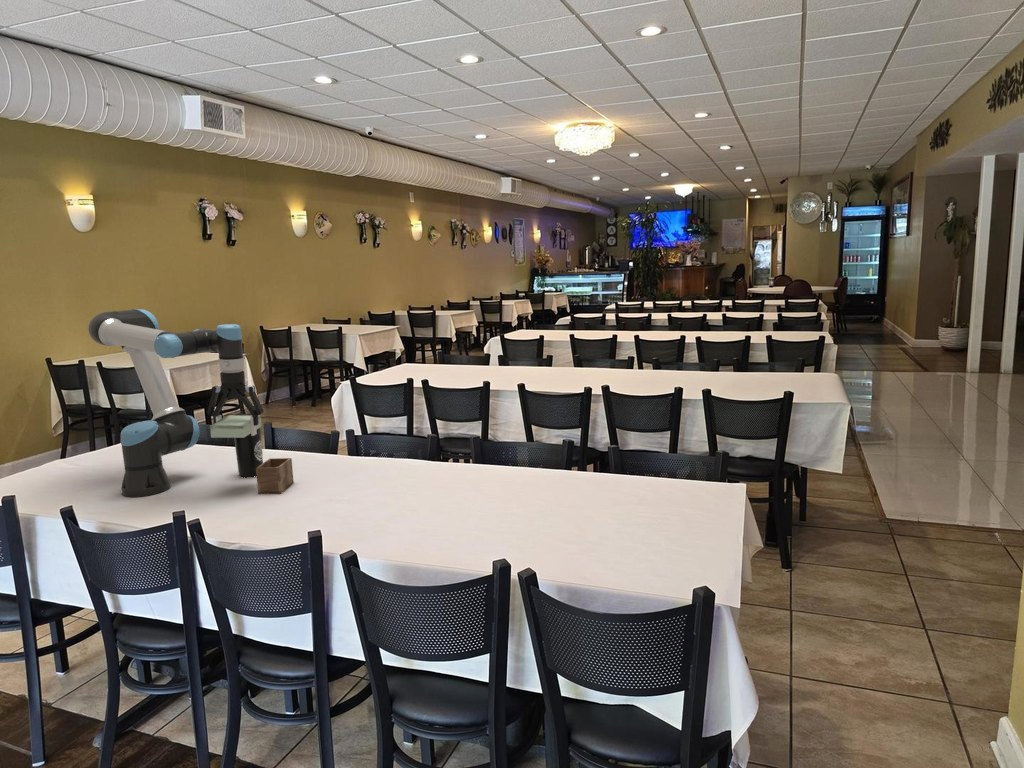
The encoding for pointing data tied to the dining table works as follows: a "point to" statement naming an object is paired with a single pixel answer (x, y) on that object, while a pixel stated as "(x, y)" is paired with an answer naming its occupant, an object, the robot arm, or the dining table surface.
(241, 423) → the lid
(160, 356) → the robot arm
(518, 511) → the dining table surface
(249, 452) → the water bottle
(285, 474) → the box
